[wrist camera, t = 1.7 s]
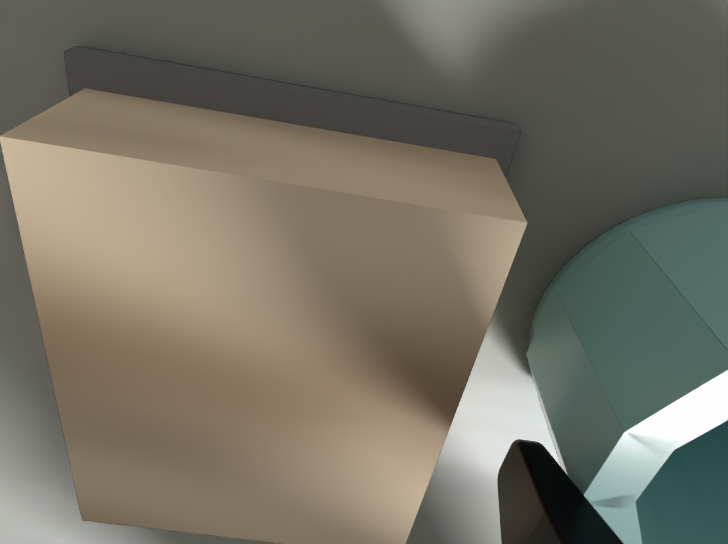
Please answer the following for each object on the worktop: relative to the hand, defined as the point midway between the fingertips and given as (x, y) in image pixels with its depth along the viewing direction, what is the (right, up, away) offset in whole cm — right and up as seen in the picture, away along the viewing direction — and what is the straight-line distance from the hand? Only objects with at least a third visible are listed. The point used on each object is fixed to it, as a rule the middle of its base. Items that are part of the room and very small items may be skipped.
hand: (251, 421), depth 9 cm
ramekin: (+8, +1, +3) cm, 9 cm away
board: (0, +1, +2) cm, 3 cm away
